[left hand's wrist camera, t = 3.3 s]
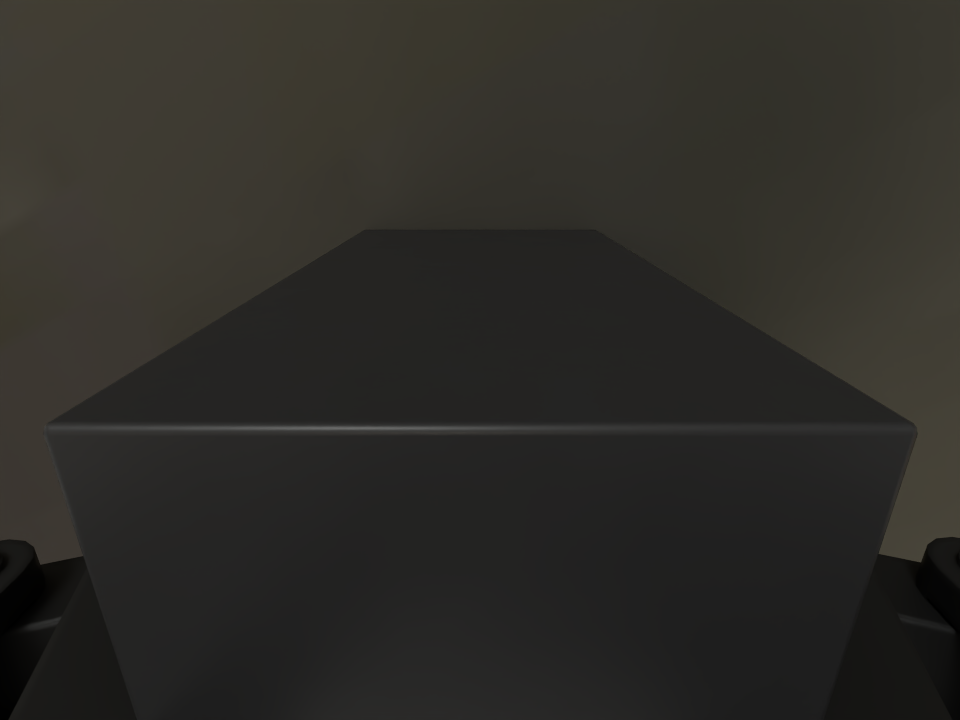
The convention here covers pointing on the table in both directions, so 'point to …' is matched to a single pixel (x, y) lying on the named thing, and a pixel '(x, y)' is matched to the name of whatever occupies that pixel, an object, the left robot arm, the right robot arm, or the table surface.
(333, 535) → the box
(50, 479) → the table surface
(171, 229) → the table surface
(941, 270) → the table surface
